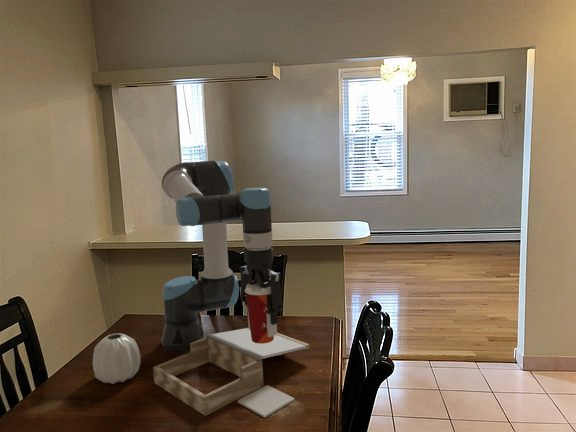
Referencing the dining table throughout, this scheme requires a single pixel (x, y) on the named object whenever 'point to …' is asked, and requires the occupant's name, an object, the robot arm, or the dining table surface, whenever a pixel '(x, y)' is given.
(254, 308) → the coffee cup
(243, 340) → the lid
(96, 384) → the dining table surface
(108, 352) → the vase
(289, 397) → the stone tile
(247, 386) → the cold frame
